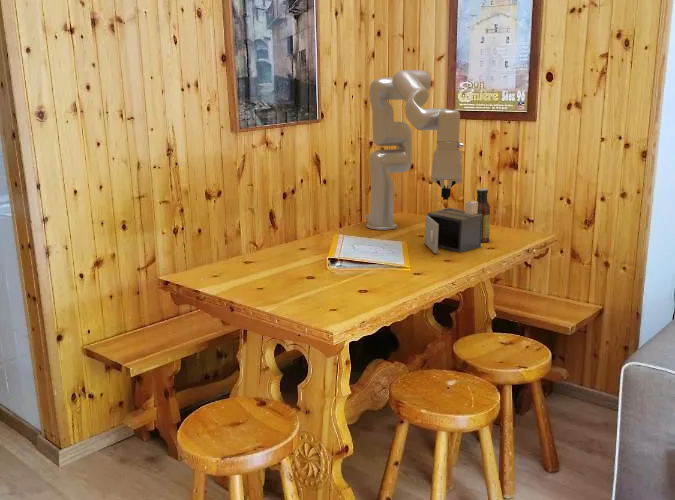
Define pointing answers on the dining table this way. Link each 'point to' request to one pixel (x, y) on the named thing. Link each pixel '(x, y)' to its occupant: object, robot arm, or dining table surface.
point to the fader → (471, 207)
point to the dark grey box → (457, 229)
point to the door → (431, 234)
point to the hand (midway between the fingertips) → (445, 199)
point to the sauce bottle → (484, 213)
